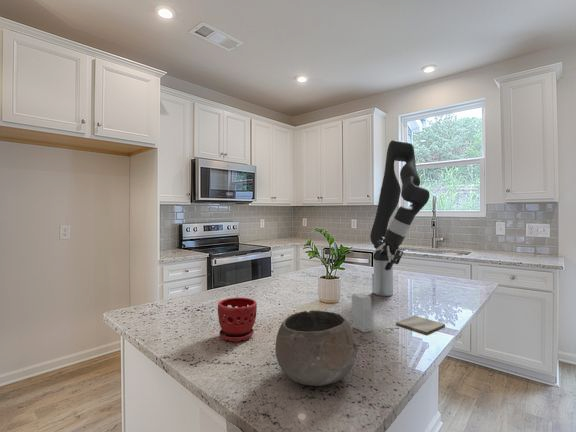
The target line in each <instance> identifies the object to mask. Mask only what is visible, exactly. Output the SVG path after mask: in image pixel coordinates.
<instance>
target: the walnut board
mask: <svg viewBox="0 0 576 432" xmlns="http://www.w3.org/2000/svg"><path fill="white" fill-rule="evenodd" d="M395 323H396V324H395V325H397V326H400V327H402V328H405V329H409V330H412V331H415V332H418V333H420V334H424V335H429V334H431V332H432V333H434V332H436V331H438V330H440V329H443V328H445V327H446V323H442V322H440V321H435V320H432V319H428V318H425V317H421V316H418V315H413V316H409V317H407V318H403V319H402V320H398V321H396V322H395ZM444 326H445V327H444ZM442 327H443V328H442ZM437 329H438V330H437ZM435 330H436V331H435ZM433 331H434V332H433Z"/></svg>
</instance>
